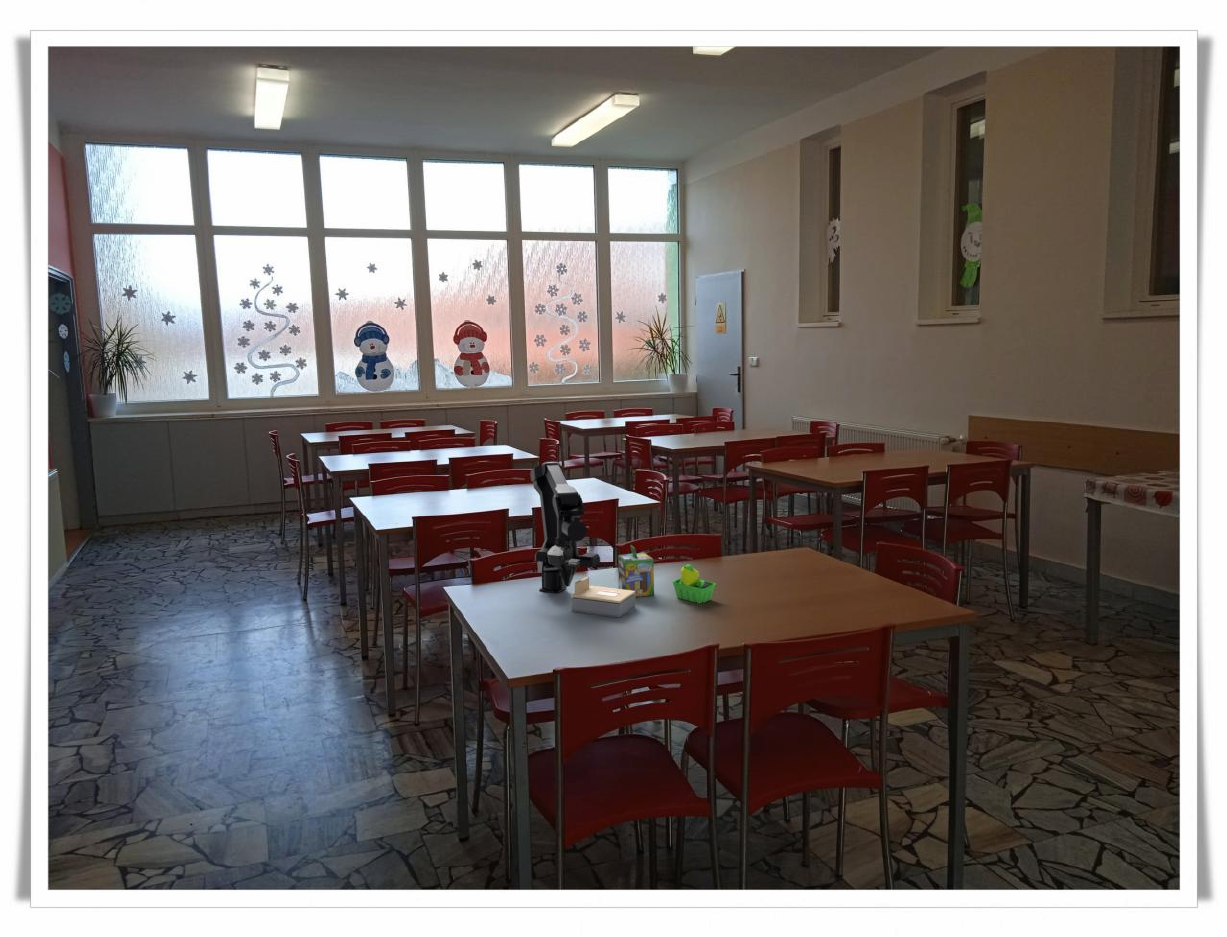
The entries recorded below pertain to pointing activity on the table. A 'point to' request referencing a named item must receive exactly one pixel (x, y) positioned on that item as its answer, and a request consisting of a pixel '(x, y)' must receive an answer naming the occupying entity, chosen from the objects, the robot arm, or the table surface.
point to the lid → (600, 592)
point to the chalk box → (636, 573)
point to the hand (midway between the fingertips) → (567, 586)
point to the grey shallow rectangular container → (603, 607)
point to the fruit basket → (693, 586)
